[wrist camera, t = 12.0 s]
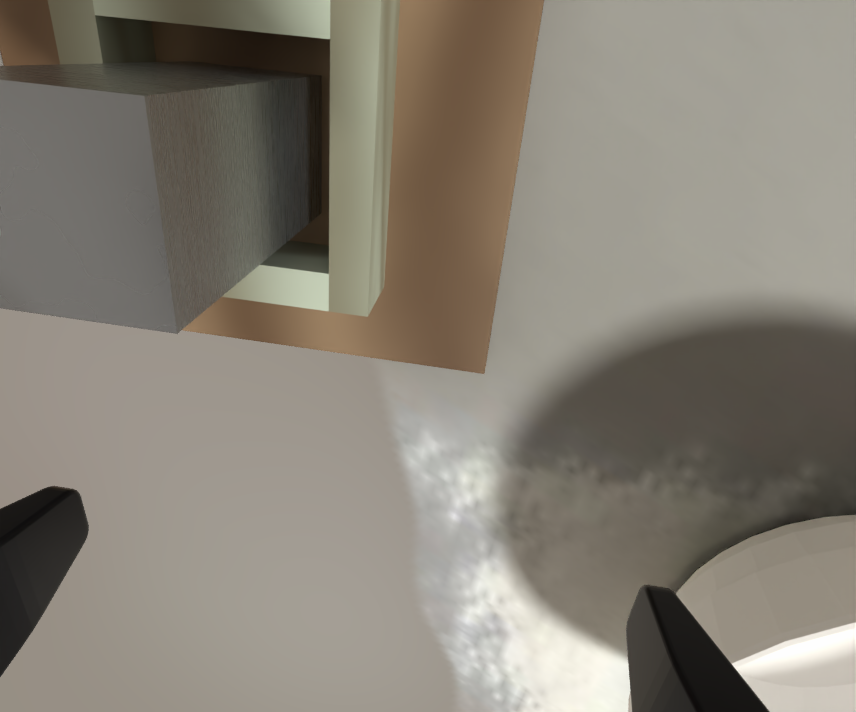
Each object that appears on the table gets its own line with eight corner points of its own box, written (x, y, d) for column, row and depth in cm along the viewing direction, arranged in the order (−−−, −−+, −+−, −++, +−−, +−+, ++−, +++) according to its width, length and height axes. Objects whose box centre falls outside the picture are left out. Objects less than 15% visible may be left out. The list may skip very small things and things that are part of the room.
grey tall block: (321, 75, 16) (143, 95, 8) (321, 213, 18) (177, 333, 10) (189, 61, 17) (-102, 68, 9) (203, 197, 19) (-25, 304, 11)
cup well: (561, -118, 14) (574, -164, 11) (485, 360, 21) (480, 412, 18) (-23, -164, 16) (-154, -217, 13) (81, 302, 22) (12, 342, 19)
